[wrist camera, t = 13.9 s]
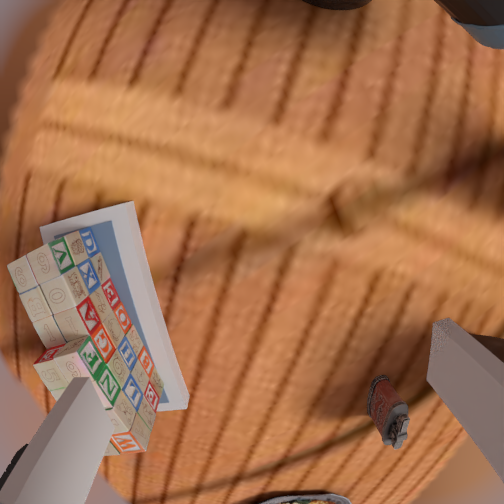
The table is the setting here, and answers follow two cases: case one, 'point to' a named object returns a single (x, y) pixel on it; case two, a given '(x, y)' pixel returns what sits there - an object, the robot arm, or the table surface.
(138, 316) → the base board
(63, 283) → the stack of blocks
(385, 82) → the table surface
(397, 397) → the lighter
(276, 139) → the table surface
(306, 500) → the food plate
